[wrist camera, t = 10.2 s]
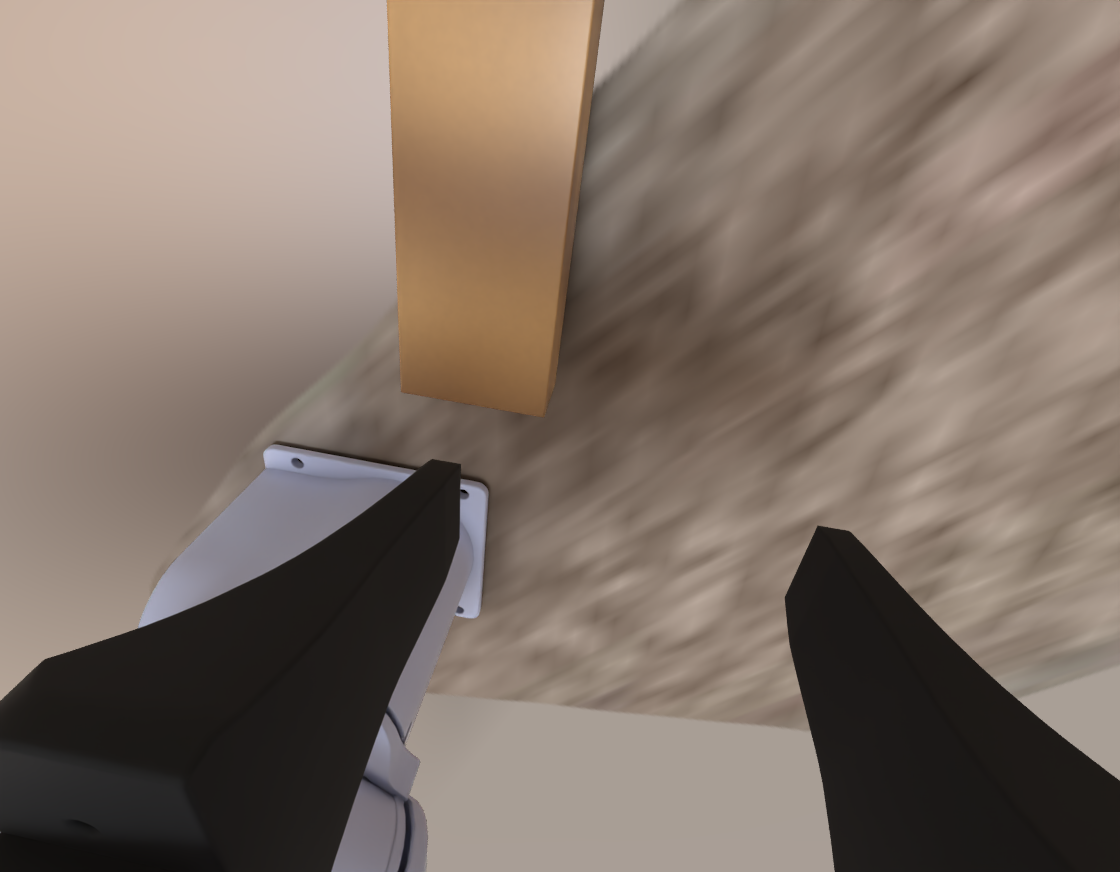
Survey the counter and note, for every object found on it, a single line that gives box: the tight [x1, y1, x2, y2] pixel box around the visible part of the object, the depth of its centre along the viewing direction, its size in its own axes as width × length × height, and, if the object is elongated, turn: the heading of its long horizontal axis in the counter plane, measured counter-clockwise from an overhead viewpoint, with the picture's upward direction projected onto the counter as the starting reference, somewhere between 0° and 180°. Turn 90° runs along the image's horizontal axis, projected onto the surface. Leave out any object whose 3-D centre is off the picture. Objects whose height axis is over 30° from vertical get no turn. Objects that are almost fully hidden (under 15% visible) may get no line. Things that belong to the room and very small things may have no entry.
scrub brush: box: [387, 0, 604, 417], centre depth 16 cm, size 11×4×4 cm, turn 173°
